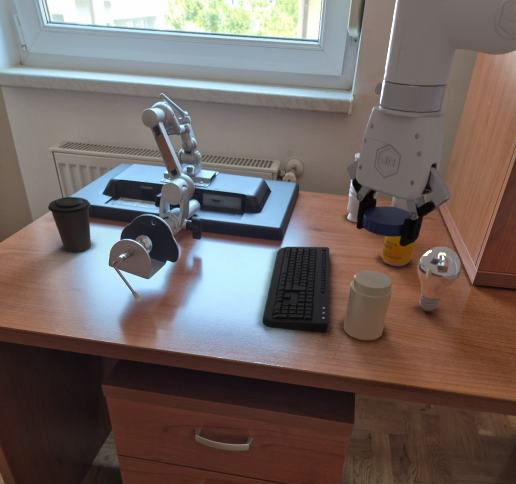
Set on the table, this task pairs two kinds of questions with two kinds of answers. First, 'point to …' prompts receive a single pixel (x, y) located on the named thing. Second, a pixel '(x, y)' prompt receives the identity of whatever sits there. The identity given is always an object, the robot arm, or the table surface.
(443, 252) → the light bulb
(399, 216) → the lid
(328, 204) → the table surface
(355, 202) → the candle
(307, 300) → the keyboard
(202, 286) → the table surface
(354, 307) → the jar
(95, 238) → the table surface
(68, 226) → the coffee cup
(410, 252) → the yellow bottle
